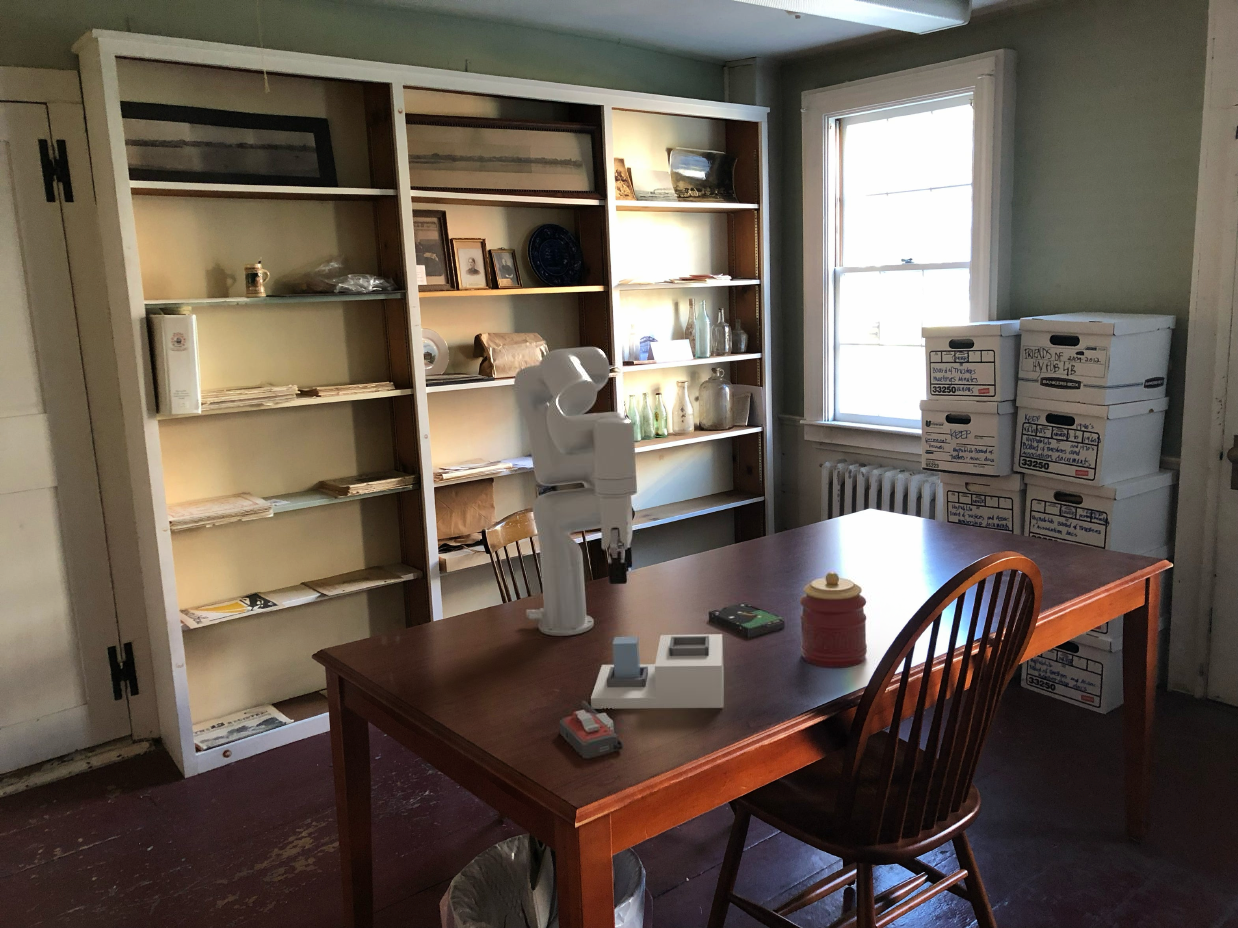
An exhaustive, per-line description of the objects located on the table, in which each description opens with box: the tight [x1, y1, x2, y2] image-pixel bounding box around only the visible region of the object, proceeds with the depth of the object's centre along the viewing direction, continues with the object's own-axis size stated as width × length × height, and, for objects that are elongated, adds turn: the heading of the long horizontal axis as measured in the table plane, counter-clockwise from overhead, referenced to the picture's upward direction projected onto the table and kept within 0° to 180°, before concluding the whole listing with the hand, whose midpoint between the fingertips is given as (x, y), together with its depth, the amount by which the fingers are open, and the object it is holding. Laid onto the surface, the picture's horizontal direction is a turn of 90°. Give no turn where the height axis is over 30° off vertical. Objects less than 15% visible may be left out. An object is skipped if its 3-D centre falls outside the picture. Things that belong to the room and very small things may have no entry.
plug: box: [612, 636, 641, 678], centre depth 182 cm, size 4×4×8 cm
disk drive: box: [708, 602, 786, 639], centre depth 216 cm, size 10×3×15 cm
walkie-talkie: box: [559, 700, 624, 760], centre depth 166 cm, size 9×4×20 cm
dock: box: [590, 633, 725, 710], centre depth 182 cm, size 24×16×10 cm, turn 84°
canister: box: [799, 571, 868, 668], centre depth 193 cm, size 13×13×18 cm
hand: (621, 575), depth 180 cm, fingers open, 9 cm apart
